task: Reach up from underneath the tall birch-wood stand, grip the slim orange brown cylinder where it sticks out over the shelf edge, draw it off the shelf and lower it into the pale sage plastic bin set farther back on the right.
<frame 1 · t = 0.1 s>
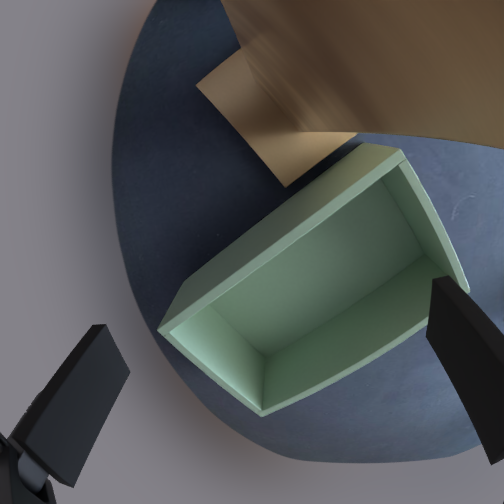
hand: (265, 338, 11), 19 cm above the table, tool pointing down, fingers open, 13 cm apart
bin: (310, 267, 30), on the table
stand: (285, 100, 24), on the table
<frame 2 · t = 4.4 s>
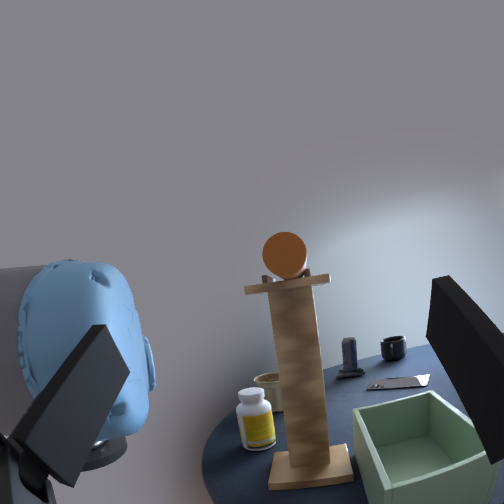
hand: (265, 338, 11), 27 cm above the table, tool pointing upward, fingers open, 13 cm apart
mug 2: (394, 360, 91), on the table
smartphone: (399, 384, 67), on the table
flower pot: (277, 409, 69), on the table
dark grey pillar: (349, 376, 86), on the table
bin: (412, 478, 28), on the table
orange brown cylinder: (286, 279, 35), point 30 cm above the table, tilted 16°, touching stand
stand: (311, 470, 38), on the table
pill bottle: (259, 445, 50), on the table
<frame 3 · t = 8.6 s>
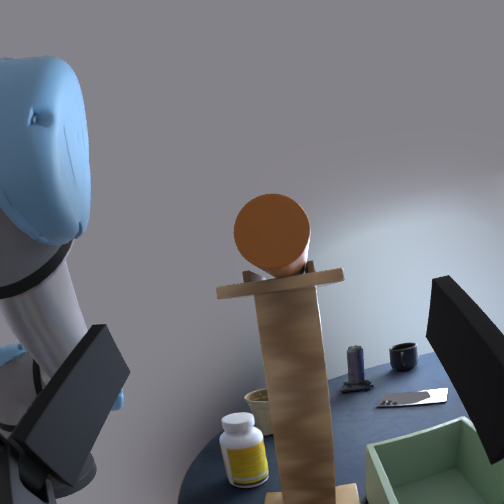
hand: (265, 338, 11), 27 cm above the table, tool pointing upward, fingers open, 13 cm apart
mug 2: (404, 370, 79), on the table
smartphone: (413, 399, 56), on the table
flower pot: (272, 430, 57), on the table
dark grey pillar: (355, 389, 74), on the table
orange brown cylinder: (278, 276, 24), point 30 cm above the table, tilted 16°, touching stand
pill bottle: (249, 479, 38), on the table
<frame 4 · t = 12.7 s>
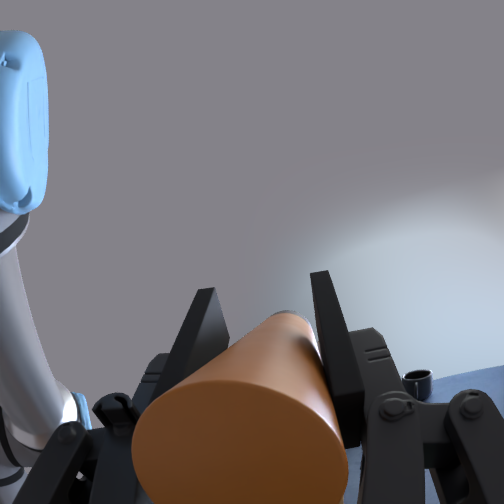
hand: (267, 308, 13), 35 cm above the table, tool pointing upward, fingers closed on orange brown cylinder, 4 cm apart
mug 2: (417, 400, 68), on the table
orange brown cylinder: (277, 415, 12), point 30 cm above the table, touching gripper, stand
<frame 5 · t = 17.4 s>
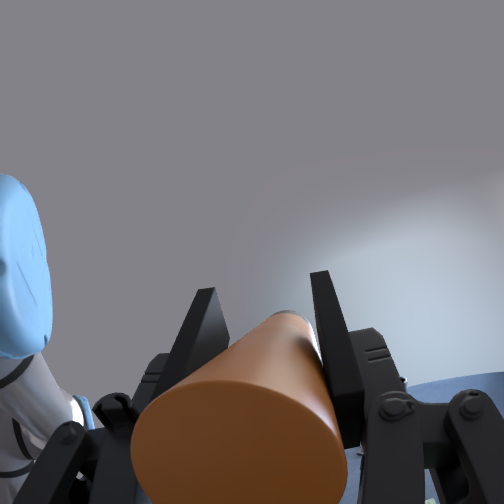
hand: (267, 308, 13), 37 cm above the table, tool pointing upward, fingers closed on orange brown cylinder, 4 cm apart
orange brown cylinder: (277, 415, 12), point 33 cm above the table, touching gripper
when the fingers open (26 cm above the table, at t = 22.1 s): orange brown cylinder drops 20 cm, resting on bin.
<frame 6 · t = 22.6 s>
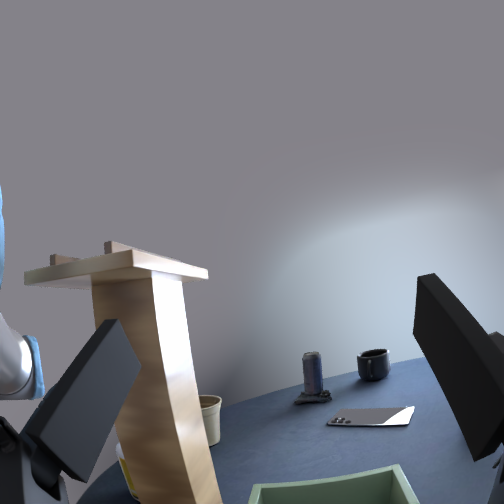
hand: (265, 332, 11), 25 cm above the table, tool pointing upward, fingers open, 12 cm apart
mug 2: (374, 379, 72), on the table
smartphone: (371, 418, 49), on the table
flower pot: (204, 442, 50), on the table
dark grey pillar: (313, 400, 67), on the table
pill bottle: (153, 494, 31), on the table
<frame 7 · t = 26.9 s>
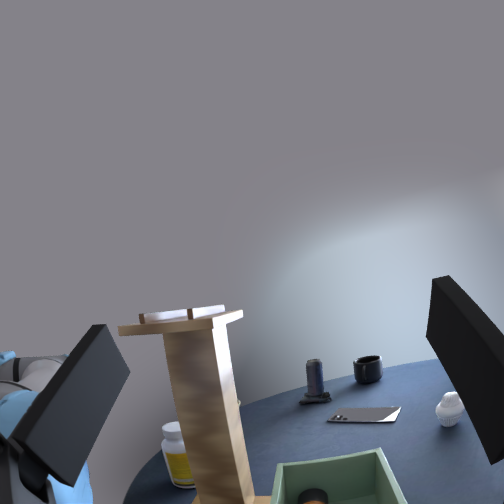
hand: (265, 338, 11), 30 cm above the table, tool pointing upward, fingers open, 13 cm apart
mug 2: (368, 382, 83), on the table
smartphone: (364, 416, 59), on the table
dark grey pillar: (315, 401, 77), on the table
pill bottle: (190, 481, 41), on the table
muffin: (449, 424, 43), on the table
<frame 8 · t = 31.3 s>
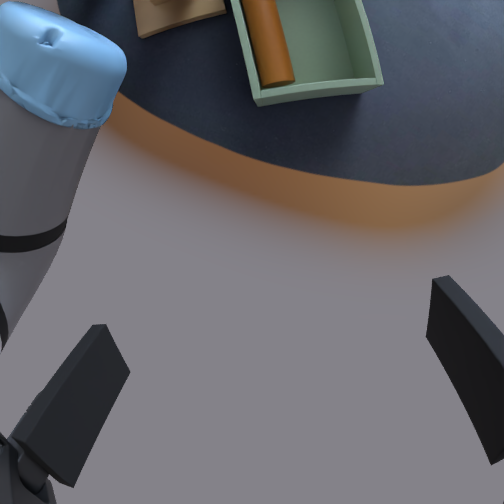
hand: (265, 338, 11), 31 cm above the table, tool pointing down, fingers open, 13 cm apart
bin: (292, 21, 31), on the table
orange brown cylinder: (277, 27, 30), point 1 cm above the table, tilted 48°, touching bin
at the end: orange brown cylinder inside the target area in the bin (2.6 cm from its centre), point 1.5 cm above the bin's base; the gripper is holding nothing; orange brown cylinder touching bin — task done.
